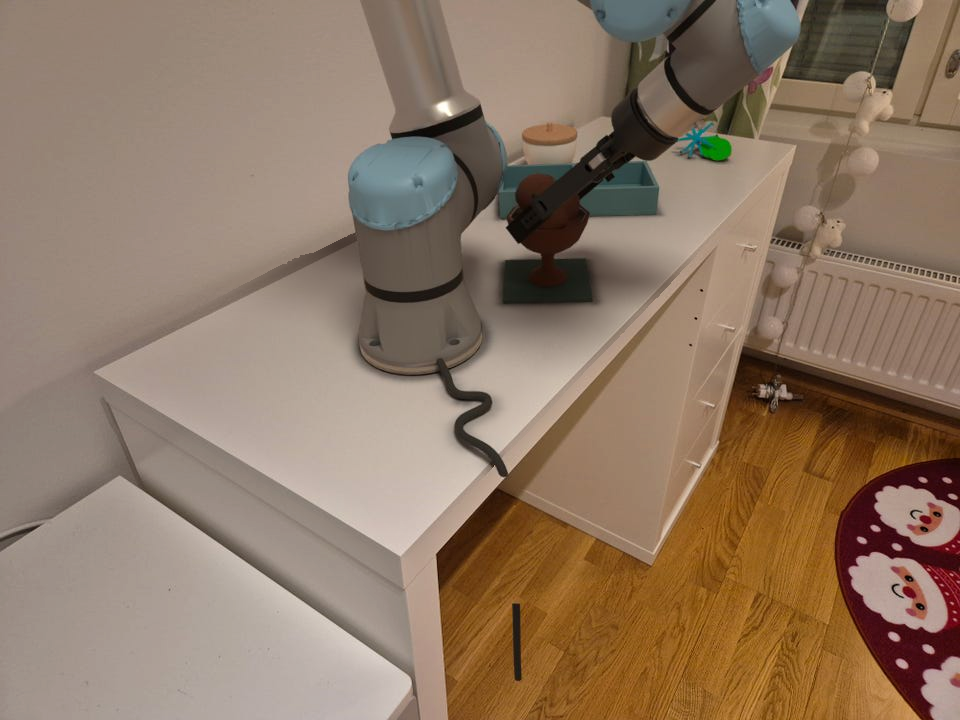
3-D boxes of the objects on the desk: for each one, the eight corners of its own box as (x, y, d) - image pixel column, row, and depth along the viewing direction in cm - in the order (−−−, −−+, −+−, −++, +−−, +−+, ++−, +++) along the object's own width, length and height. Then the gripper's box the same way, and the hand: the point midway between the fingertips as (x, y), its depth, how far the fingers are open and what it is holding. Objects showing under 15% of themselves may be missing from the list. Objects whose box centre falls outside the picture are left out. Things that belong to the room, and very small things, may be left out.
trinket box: (513, 176, 130) (512, 128, 125) (535, 160, 138) (535, 113, 132) (564, 182, 126) (565, 133, 120) (583, 165, 133) (585, 117, 128)
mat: (592, 301, 88) (592, 297, 88) (503, 303, 89) (503, 299, 88) (585, 261, 98) (585, 257, 97) (505, 263, 99) (504, 259, 98)
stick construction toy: (666, 144, 135) (689, 109, 133) (673, 155, 141) (695, 122, 139) (717, 170, 130) (741, 135, 128) (722, 180, 136) (745, 147, 134)
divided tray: (656, 214, 111) (659, 186, 108) (499, 218, 113) (499, 191, 110) (644, 186, 122) (646, 160, 119) (501, 190, 124) (501, 165, 121)
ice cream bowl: (561, 304, 87) (564, 194, 78) (493, 283, 92) (488, 178, 84) (600, 272, 93) (607, 168, 85) (535, 254, 99) (534, 155, 91)
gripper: (631, 174, 64) (507, 276, 80) (716, 113, 81) (599, 207, 97) (585, 112, 64) (469, 227, 80) (680, 63, 80) (568, 166, 96)
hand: (540, 216), depth 88 cm, fingers open, 13 cm apart
